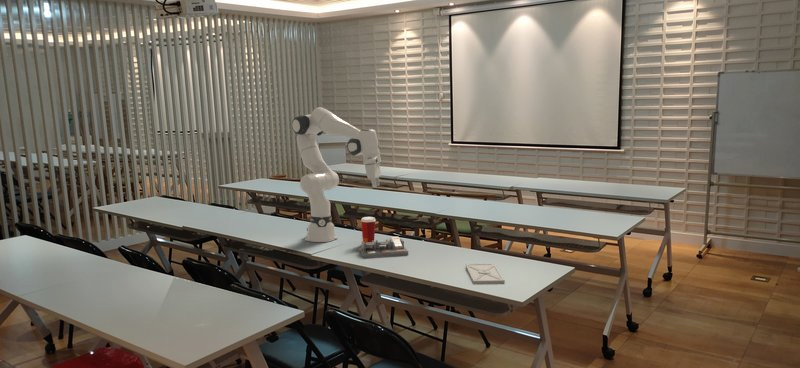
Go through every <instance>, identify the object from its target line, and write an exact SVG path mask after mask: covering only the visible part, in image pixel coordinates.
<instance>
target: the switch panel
mask: <svg viewBox="0 0 800 368" xmlns="http://www.w3.org/2000/svg"><path fill="white" fill-rule="evenodd" d="M399 239H400V242H401V244H402V246H403V248H399V249H395V248H394V242H393V241H392V240H391V238H389V240H388V239H385V241H388V243H389V244H386V245H379V241H378V240H377V239H376V240H375V239H374V240H372V242H374V245H372V246H365V243H364V242H363V240H362V241H361V247H359V252H360V254H361V255H362V257H363V258H364V259H367V258H368V259H369V258H370V259H371V258H384V257H397V256H400V257H401V256H408V255H409V250H408V249H407V248H406V247H405V241H404V240H403V239H402V238H399Z"/></svg>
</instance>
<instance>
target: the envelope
mask: <svg viewBox="0 0 800 368" xmlns="http://www.w3.org/2000/svg"><path fill="white" fill-rule="evenodd" d="M465 269H466V270H465V271H467V274H468V276H469V278H470V280H471V282H472V284H473V283H479V284H505V282H506V281H505V279H504V277H503V275H502V274H501V272H500V270H499V269H498V268H497V265H496V264H495V263H465Z"/></svg>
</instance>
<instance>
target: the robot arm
mask: <svg viewBox="0 0 800 368" xmlns="http://www.w3.org/2000/svg"><path fill="white" fill-rule="evenodd" d="M291 129H292V130H293V133H295V134H296V135H297V136H296V143H297V149H298V151H299V154H300V157H301V160H302V163H303V165H304V167H305V168H307V169H309V170H310V171H311V173H307V174H305V175H303V176H301V177H300V182H299V184H300V185H299V186H300V189H301V190H302V191H303V192H304V193H305V195H307V197H308V200H309V203H310V204H309V205H310V218H309V219H310V220H309V221H310V223H309V225H308V226H307V227H306V232H307V233H306V236H305V238H304V241H305V242H313V243H328V242H331V241H333V240H338V236H337V235H335V224H334V223H333V222H332V218H333V217H332V214H331V202H330V199H328V198H326V197H325V194H324V193H325V192H324V191H330V190H332V189H333V190H334V188H337V187H338V186H339V183H340V178H339V175H338V173H337V172H335V171H334V170H333V169H331V168H330V167H329V166H328V164H327V163H326V162H325V160H324V158H323V156H322V153H321V151H320V147H319V145H318V142H317V136H318V137H319V136H321V135H322V134H323V133H324V134H325V135H326V134H327V135H329V136H331V137H347V138H350V139H348V141H347V145H346V148H347V152H348V153H349V155H351V156H353V157H357V156H358V157H359V156H362V160H363V161H362V163H363V166H364V168H365V173H366V177H367V179H368V180H370V182H371V186H372V188H375V189H376V188H377V187H380V177H382V173H381V167H380V163H381V162H382V159H381V152H380V150H379V149H380V143H379V138H378V135H377V131H376V130H375V129H373V128H362V129H360V128H359V127H358V128H357V127H356V126H354V125H353V124H350V123H349V122H347V121H346V120H343V119H342V118H341V117H339V116H337V115H336V114H334V113H333V112H332V111H330V110H328V109H326V108H325V107H320V106H319V107H315V108H314V109H313V111H311V113H309V114H304V115H303V114H302V115H298V116H295V117H294V118H293V119H292V121H291Z"/></svg>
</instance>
